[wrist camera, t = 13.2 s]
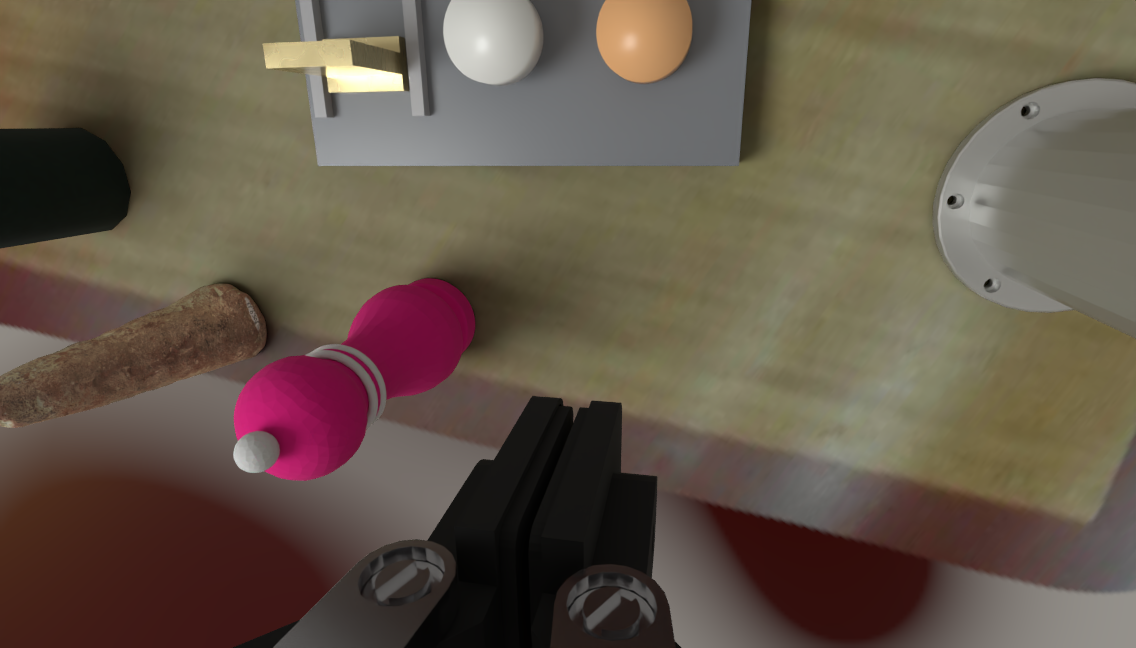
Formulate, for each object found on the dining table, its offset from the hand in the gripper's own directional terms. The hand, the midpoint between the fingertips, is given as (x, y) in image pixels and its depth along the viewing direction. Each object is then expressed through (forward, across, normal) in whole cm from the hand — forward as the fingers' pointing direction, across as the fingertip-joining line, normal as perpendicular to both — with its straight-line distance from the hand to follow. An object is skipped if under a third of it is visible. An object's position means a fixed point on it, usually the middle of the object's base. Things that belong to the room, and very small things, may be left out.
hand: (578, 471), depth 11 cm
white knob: (+25, +9, -11) cm, 29 cm away
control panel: (+29, +9, -11) cm, 32 cm away
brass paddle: (+27, +18, -10) cm, 34 cm away
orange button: (+27, +1, -11) cm, 29 cm away
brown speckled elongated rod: (+29, +33, +8) cm, 45 cm away
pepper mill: (+29, +16, +7) cm, 34 cm away
